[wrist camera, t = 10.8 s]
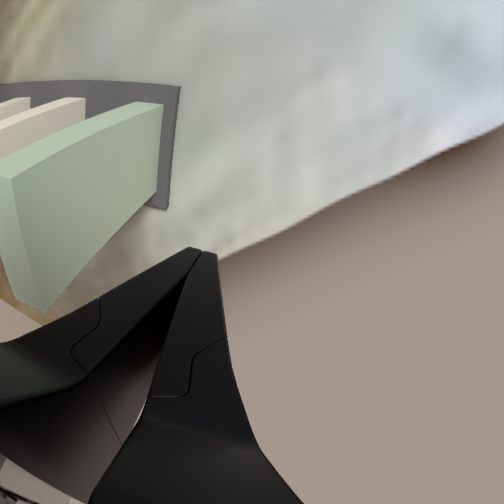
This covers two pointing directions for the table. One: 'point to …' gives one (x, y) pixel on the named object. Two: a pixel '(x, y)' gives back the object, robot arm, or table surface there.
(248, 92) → the table surface
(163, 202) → the mat
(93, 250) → the domino
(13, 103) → the domino
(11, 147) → the domino
